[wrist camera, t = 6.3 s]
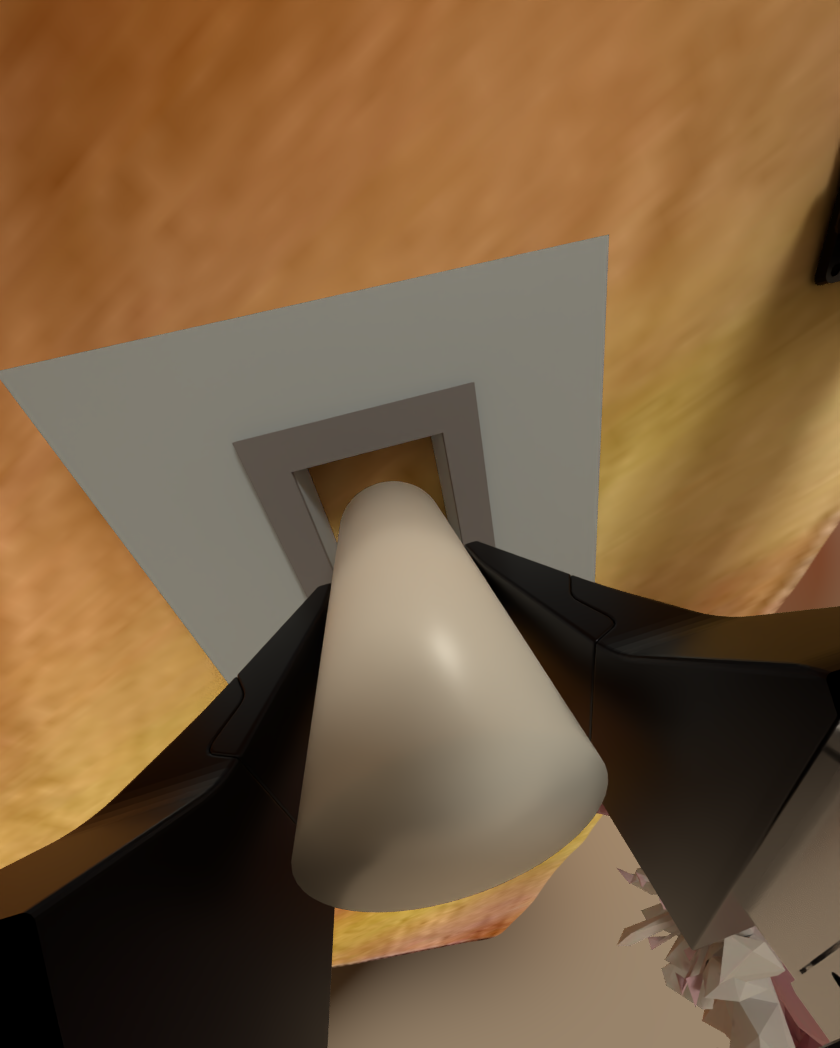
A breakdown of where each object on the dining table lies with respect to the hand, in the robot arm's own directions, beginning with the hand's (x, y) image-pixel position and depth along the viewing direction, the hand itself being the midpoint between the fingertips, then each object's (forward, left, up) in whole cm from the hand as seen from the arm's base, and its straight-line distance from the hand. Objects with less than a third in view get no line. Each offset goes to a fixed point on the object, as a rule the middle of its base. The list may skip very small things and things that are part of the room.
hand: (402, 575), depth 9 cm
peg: (0, 0, -3) cm, 3 cm away
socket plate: (0, 0, -7) cm, 7 cm away
